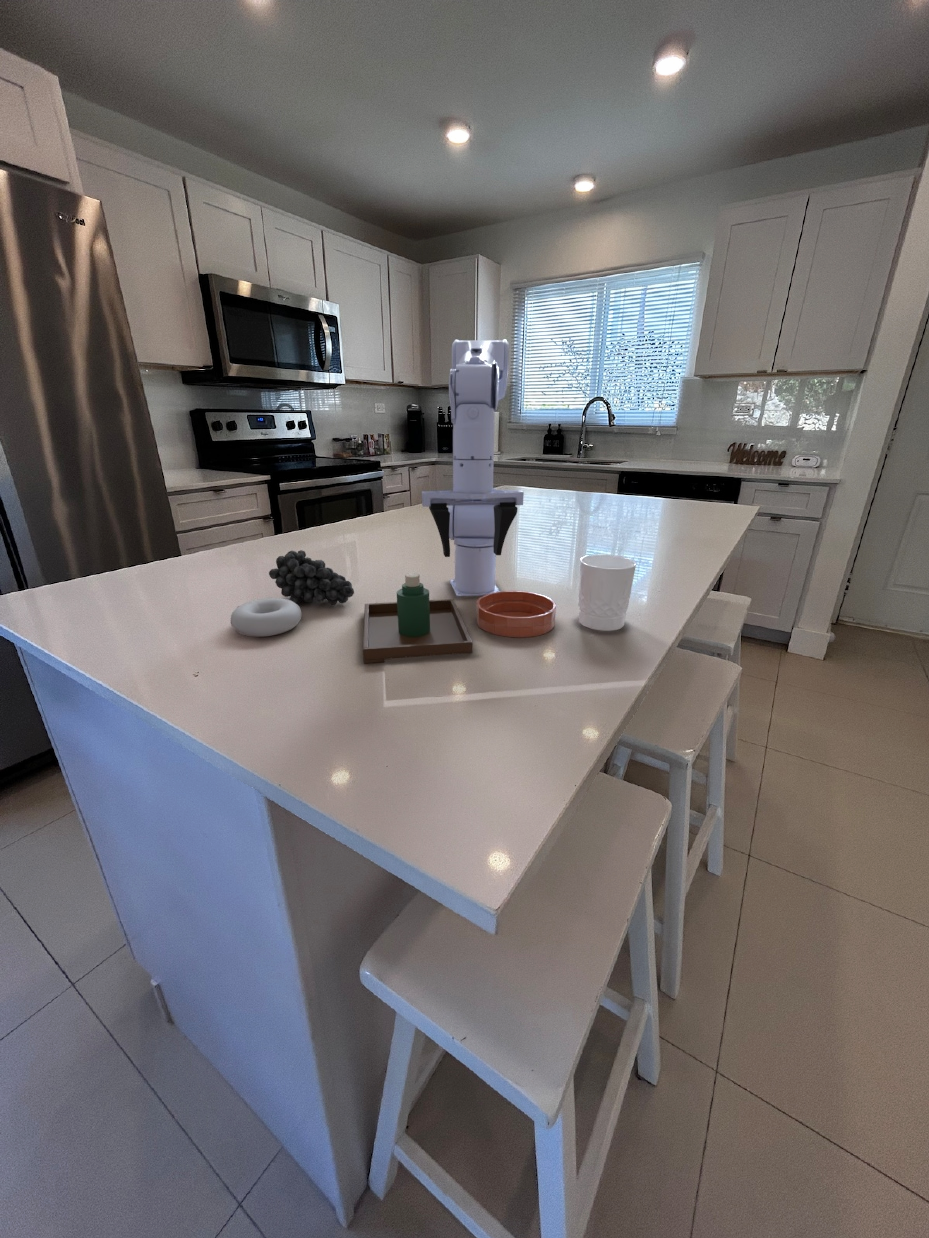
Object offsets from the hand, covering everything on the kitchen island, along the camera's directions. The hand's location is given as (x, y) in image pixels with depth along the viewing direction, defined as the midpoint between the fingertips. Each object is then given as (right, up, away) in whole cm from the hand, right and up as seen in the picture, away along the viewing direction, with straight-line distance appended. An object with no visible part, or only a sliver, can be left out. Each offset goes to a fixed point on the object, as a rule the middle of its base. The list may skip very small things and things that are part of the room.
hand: (472, 554), depth 76 cm
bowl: (+7, -10, +2) cm, 13 cm away
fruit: (-26, -7, +11) cm, 29 cm away
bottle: (-8, -11, -2) cm, 14 cm away
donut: (-31, -11, +1) cm, 33 cm away
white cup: (+20, -11, +2) cm, 23 cm away
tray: (-8, -12, -1) cm, 15 cm away
